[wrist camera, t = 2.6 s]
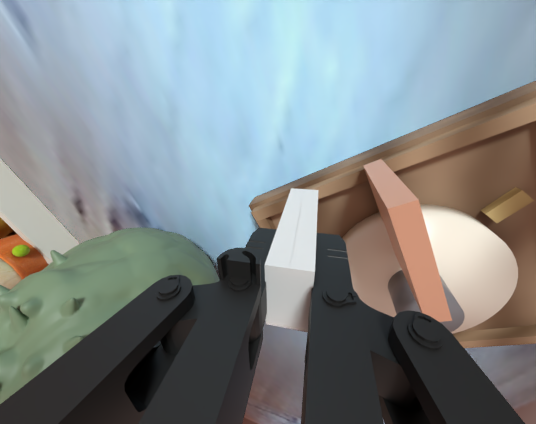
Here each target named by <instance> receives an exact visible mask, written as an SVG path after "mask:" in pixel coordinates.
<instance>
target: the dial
mask: <svg viewBox="0 0 536 424" xmlns="http://www.w3.org/2000/svg"><path fill="white" fill-rule="evenodd" d="M364 169H365V172H366V175H367V178H368V181H369V183H370V186H371V189H372V192H373V195H374V198H375V201H376V203H377V206H378V209H379V212H378V213H375V214H373V215H371V216H369V217H367V218H365V219H364V220H362V221H361V222H359V223H357V224H356V225H355V226H354V227H352V228H351V229H350V230H349V231H348V232H347V233H346V234H345V235H344V236H343V238H342V239H343V240H344V241H345V243H346V249H347V255H348V261H349V267H350V273H351V279H352V285H353V289H354V291H355V292H356V293H357V294H358V296H359V298H360V299H361V300H362V301H363V302H364V303H365V304H367V305H368V306H369V307H371V308H373V309H375V310H377V311H380V312H382V313H384V314H387V315H389V316H392V317H395V316H396V315H397V314H398V313H399V312H402V311H407V310H409V311H417V312H421V313H423V314H426V315H428V316H431V317H432V318H434V319H435V320H437V321H438V322H440V323H442V324H443V325H444V326H445V327H446V328H447V329H448V330H449V331H450V332H451V333H452V334H453V333H457V332H460V331H464V330H466V329H469V328H472V327H474V326H476V325H478V324H480V323H482V322H484V321H486V320H487V319H489V318H490V317H492V316H493V315H495V314H496V313H497V312H498V311H499V310H501V309H502V307H503V306H504V305H505V304H506V303H507V302H508V301H509V299H510V298H511V296H512V295H513V292H514V290H515V288H516V285H517V280H518V266H517V262H516V259H515V257H514V255H513V253H512V251H511V250H510V248H509V247H508V246H507V244H506V243H505V242H504V241H503V240H501V239H500V238H499V237H498V236H497V235H496V234H494V233H493V232H492V231H491V230H489V229H488V228H487V227H486V226H484V225H483V224H482V223H481V222H479V221H478V220H476V219H475V218H473V217H472V216H470V215H468V214H466V213H464V212H461V211H459V210H456V209H452V208H449V207H444V206H438V205H427V204H420V203H419V200H418V198H417V197H416V196H415V195H414V194H413V193H412V192H411V191H410V190H409V189H408V188H407V186H406V185H405V184H404V183H403V182H402V181H401V180H400V179H399V178H398V177H397V175H396V174H395V173H394V172H393V171H392V170H391V169H390V168H389V167H388V166H387V165H386V163H385V162H384V161H383V160H382V159H379V160H377V161H374V162H372V163H369V164H366V165H364Z"/></svg>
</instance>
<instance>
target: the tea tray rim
mask: <svg viewBox="0 0 536 424" xmlns="http://www.w3.org/2000/svg"><path fill="white" fill-rule="evenodd" d="M0 218H1V219H3V220H4V221H5V222H6V223H7V224H8V225H9V226H10V227H11V228H12V229H13V230H14V231H15V232H16V233H17V234H18V235H19V236H20V237H21V238H22V239H23V240H24V241H26V242H28V243H29V244H30V245H32V246H33V247H34V248H35V249H37V250H38V251H39V252H40V253H41V255H42V256H43V257H44V259H45V260H46V262H47V263H48V264H50V263H51V262H53V260H52V258H51V254H50V252H51V250H55V251H57V252H59V253H60V254H64V253H65V252H67V251H68V250H70V249H72V248H73V247H75V246H77V245H79V244H80V243H79V242H78V241H77V240H76V239H75V238H74V237H73V236H72V235H71V234H70V233H69V231H68V230H67V229H66V228H65V227H64V226H63V225H62V224H61V223H60V222H59V221H58V220H57V219H56V217H55V216H54V215H53V214H52V213H51V212H50V211H49V210H48V209H47V208H46V207H45V206H44V205H43V203H42V202H41V201H40V200H39V199H38V198H37V197H36V196H35V195H34V194H33V193H32V192H31V191H30V190H29V188H28V187H27V186H26V185H25V184H24V183H23V182H22V181H21V180H20V179H19V178H18V177H17V176H16V174H15V173H14V172H13V171H12V170H11V169H10V168H9V167H8V166H7V165H6V164H5V163H4V162H3V160H2V159H1V158H0Z"/></svg>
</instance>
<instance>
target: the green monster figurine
mask: <svg viewBox="0 0 536 424" xmlns="http://www.w3.org/2000/svg"><path fill="white" fill-rule="evenodd" d="M50 254H51V258H52V260H53V262H51V263H50V264H49V265H48V266H47V267H45V268H44V269H43V270H41V271H40V272H36V273H33V274H31V275H29V276H27V277H25V278H24V279H23V280H21V281H20V282H19V283H18V284H16V285H15V286H14V287H13V288H12V289H8V288H6V287H4V286H2V285H0V404H1V403H3V402H4V401H5V400H6V399H8V398H9V397H10V396H11V395H13V394H14V393H15V392H17V391H18V390H19V389H20V388H22V387H23V386H24V385H25V384H27V383H28V382H29V381H30V380H32V379H33V378H34V377H36V376H37V375H38V374H39V373H41V372H42V371H43V370H44V369H46V368H47V367H48V366H49V365H51V364H52V363H53V362H55V361H56V360H57V359H58V358H60V357H61V356H62V355H63V354H65V353H66V352H67V351H69V350H70V349H71V348H72V347H74V346H75V345H76V344H77V343H79V342H80V341H81V340H82V339H84V338H85V337H86V336H88V335H89V334H90V333H91V332H93V331H94V330H95V329H96V328H98V327H99V326H100V325H102V324H103V323H104V322H105V321H107V320H108V319H109V318H110V317H112V316H113V315H114V314H115V313H117V312H118V311H119V310H121V309H122V308H123V307H124V306H126V305H127V304H128V303H129V302H131V301H132V300H133V299H134V298H136V297H137V296H138V295H140V294H141V293H142V292H143V291H145V290H146V289H147V288H148V287H150V286H151V285H152V284H154V283H155V282H157V281H158V280H160V279H162V278H164V277H167V276H170V275H183V276H186V277H188V278H189V279H190V280H191V283H192V286H193V285H203V284H211V283H216V282H218V281H219V277H218V275H217V273H216V271H215V268H214V266H213V264H212V262H211V261H210V259H209V258H208V256H207V255H206V254H205V253H204V252H203V251H202V250H200V249H199V248H198V247H197V246H196V245H195V244H194V243H193V242H192V241H190V240H189V239H187V238H186V237H184V236H182V235H180V234H177V233H172V232H165V231H163V230H159V229H154V228H129V229H123V230H119V231H115V232H113V233H111V234H109V235H105V236H101V237H97V238H94V239H91V240H88V241H85V242H83V243H81V244H79V245H77V246H75V247H73V248H72V249H70V250H68V251H67V252H65V253H64V254H60V253H59V252H57V251H55V250H51V252H50Z"/></svg>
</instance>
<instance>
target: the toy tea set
mask: <svg viewBox="0 0 536 424" xmlns="http://www.w3.org/2000/svg"><path fill="white" fill-rule="evenodd" d="M1 238H2V239H1ZM48 265H49V264H48V263H47V262H46V260H45V259H44V257H43V256H42V255H41V253H40V252H39V251H38V250H37V249H35V248H34V247H33V246H32V245H30V244H29V243H28V242H26V241H24V240H23V239H22V238H21V237H20V236H19V235H18V234H17V233H16V232H15V231H14V230H13V229H12V228H11V227H10V226H9V225H8V224H7V223H6V222H5V221H4V220H3V219H1V218H0V285H2V286H4V287H6V288H8V289H12V288H13V287H14V286H15V285H16V284H18V283H19V282H20V281H21V280H23V279H24V278H25V277H27V276H29V275H31V274H33V273H36V272H40V271H41V270H43V269H44V268H45V267H47V266H48Z"/></svg>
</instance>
